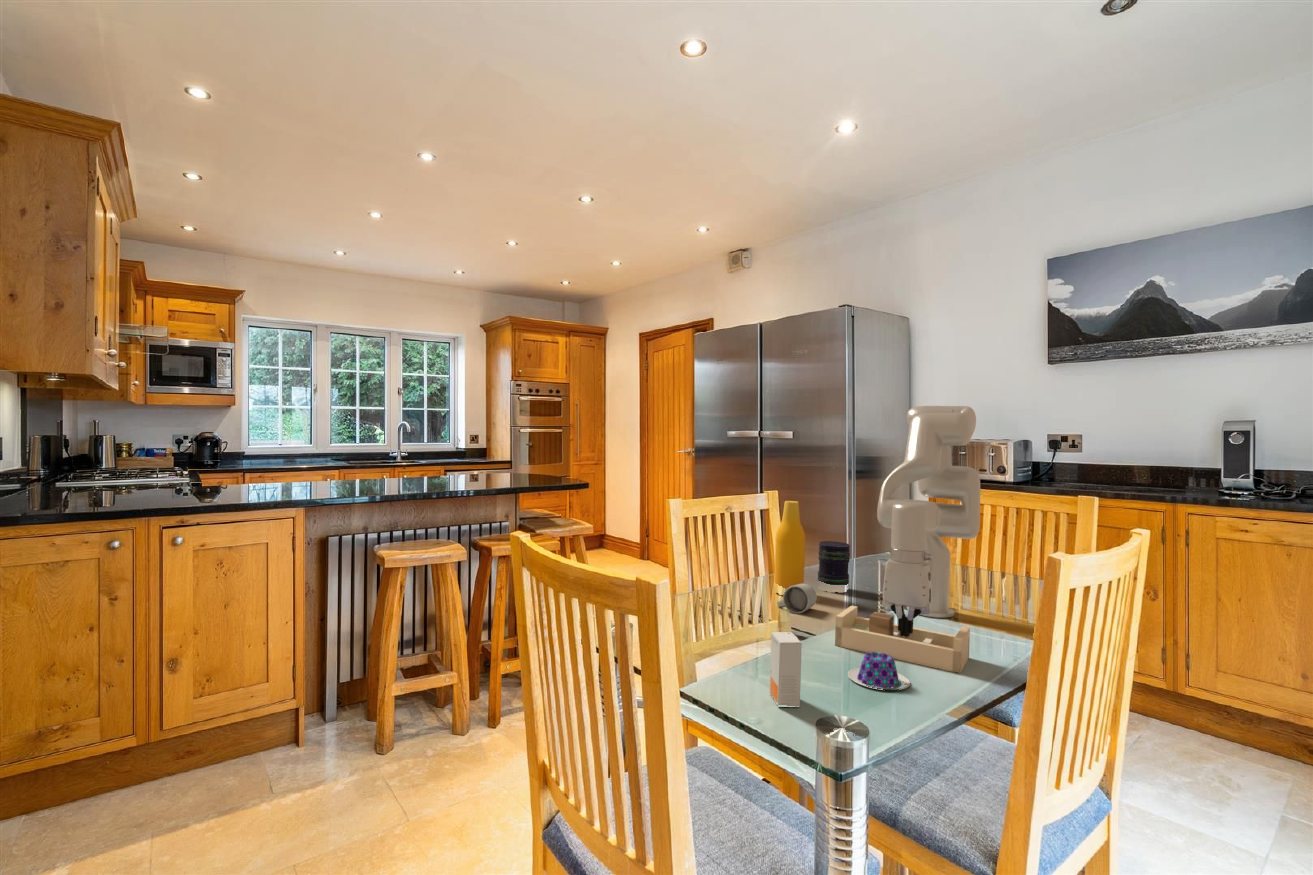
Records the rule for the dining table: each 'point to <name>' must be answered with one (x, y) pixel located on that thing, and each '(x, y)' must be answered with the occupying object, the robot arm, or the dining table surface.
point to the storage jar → (833, 562)
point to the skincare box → (785, 668)
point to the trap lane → (904, 642)
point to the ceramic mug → (798, 598)
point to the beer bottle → (790, 548)
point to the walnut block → (881, 623)
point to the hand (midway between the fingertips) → (905, 635)
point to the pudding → (877, 671)
